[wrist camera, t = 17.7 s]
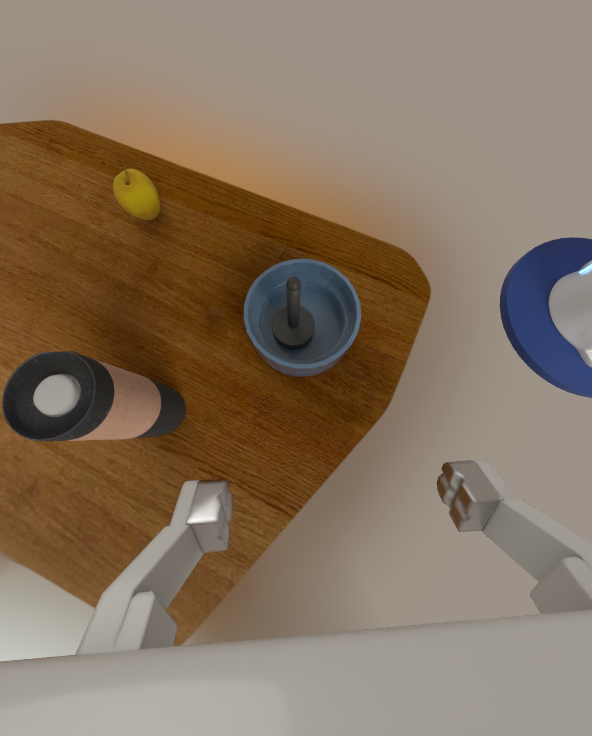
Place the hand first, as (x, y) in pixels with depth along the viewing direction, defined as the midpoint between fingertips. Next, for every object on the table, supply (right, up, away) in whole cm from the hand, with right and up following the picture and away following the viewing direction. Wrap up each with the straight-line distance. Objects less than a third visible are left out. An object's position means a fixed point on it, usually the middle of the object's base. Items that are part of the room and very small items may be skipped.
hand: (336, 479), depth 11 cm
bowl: (-1, +11, +35) cm, 36 cm away
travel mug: (-22, -2, +32) cm, 38 cm away
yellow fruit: (-27, +31, +39) cm, 57 cm away
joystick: (-2, +10, +34) cm, 35 cm away
